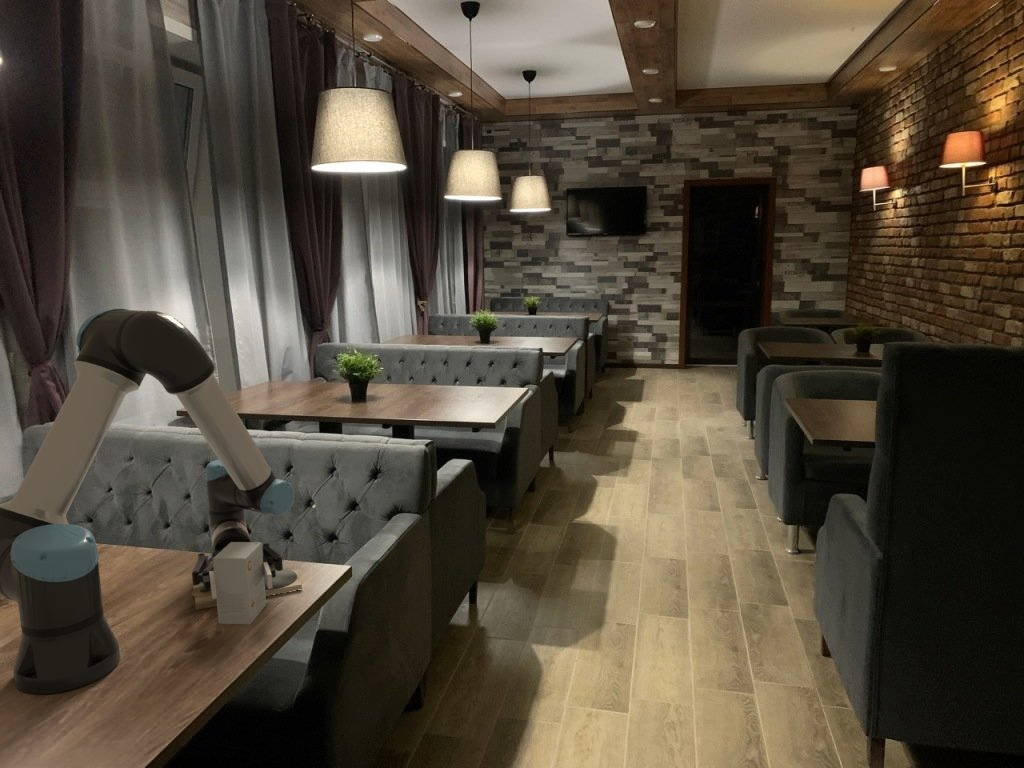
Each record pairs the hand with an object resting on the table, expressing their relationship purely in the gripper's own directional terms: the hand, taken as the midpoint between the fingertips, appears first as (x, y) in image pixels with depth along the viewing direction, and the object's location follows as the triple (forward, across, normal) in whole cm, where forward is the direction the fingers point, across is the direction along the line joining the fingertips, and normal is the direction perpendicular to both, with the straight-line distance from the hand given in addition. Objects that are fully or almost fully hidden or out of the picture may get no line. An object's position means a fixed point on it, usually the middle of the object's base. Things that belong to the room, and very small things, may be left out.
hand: (242, 586), depth 139 cm
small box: (-5, 0, -8) cm, 9 cm away
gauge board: (-16, -2, -8) cm, 17 cm away
